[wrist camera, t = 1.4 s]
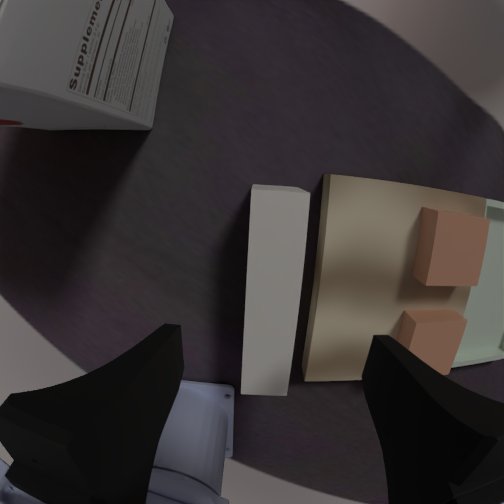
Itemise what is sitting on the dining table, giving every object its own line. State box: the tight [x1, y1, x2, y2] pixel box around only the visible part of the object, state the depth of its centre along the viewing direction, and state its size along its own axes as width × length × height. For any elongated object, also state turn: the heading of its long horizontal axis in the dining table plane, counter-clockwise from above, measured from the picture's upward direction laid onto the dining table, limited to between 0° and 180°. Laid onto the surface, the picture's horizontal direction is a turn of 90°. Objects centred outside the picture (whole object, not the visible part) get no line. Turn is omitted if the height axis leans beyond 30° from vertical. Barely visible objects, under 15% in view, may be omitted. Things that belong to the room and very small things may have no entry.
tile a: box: [396, 309, 468, 375], centre depth 19 cm, size 4×4×2 cm
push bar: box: [241, 184, 310, 396], centre depth 19 cm, size 12×3×5 cm, turn 177°
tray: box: [451, 199, 504, 368], centre depth 20 cm, size 14×9×2 cm, turn 177°
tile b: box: [412, 206, 490, 286], centre depth 17 cm, size 4×4×2 cm
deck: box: [301, 174, 487, 381], centre depth 20 cm, size 14×12×2 cm
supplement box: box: [0, 0, 174, 130], centre depth 10 cm, size 9×9×15 cm
